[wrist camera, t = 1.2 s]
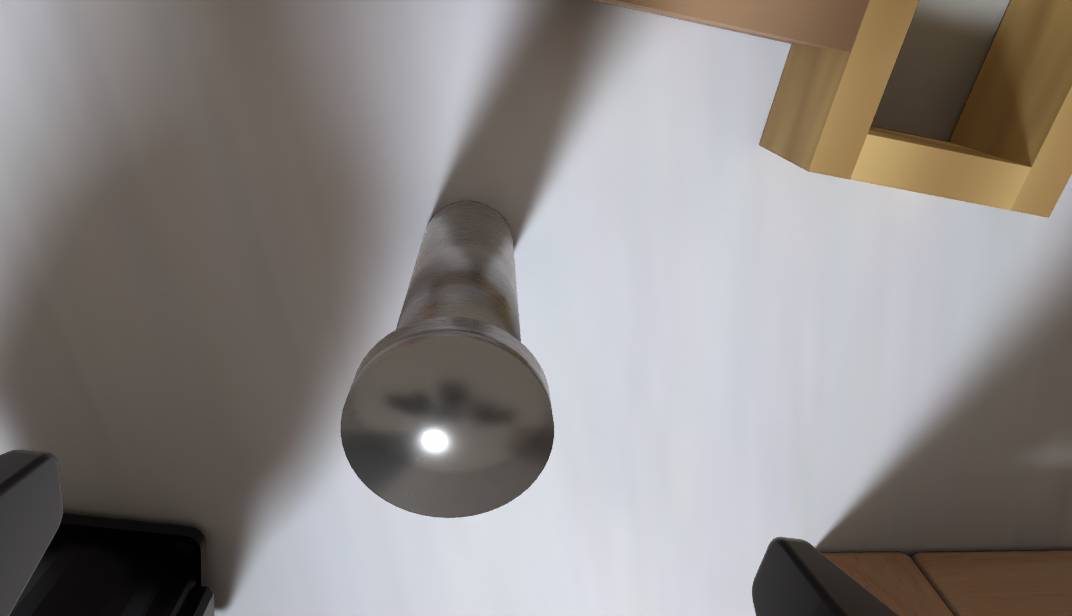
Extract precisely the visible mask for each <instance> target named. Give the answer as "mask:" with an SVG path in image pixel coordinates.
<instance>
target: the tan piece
mask: <svg viewBox="0 0 1072 616" xmlns="http://www.w3.org/2000/svg"><path fill="white" fill-rule="evenodd" d="M594 1H599V2H603V3H608V4H612V5H617V6H621V7H626V8H631V9H635V10H640V11H644V12H649V13H654V14H658V15H663V16H667V17H672V18H676V19H681V20H686V21H690V22H695V23H699V24H704V25H708V26H713V27H718V28H722V29H727V30H731V31H736V32H741V33H745V34H750V35H754V36H759V37H763V38H768V39H773V40H777V41H782V42H786V43H791V44H792V46H791V49H790V52H789V55H788V58H787V61H786V64H785V67H784V70H783V73H782V76H781V79H780V82H779V86H778V89H777V92H776V95H775V98H774V101H773V104H772V107H771V110H770V113H769V116H768V119H767V122H766V125H765V129H764V132H763V135H762V138H761V141H760V144H759V145H760V146H762V147H764V148H766V149H767V150H769V151H771V152H773V153H775V154H777V155H779V156H781V157H782V158H784V159H786V160H788V161H790V162H792V163H794V164H795V165H797V166H799V167H801V168H803V169H805V170H807V171H809V172H814V173H819V174H825V175H830V176H835V177H840V178H845V179H851V180H856V181H861V182H866V183H871V184H877V185H882V186H887V187H892V188H897V189H903V190H908V191H913V192H918V193H923V194H929V195H934V196H939V197H944V198H949V199H955V200H960V201H965V202H970V203H975V204H981V205H986V206H991V207H996V208H1001V209H1007V210H1012V211H1017V212H1022V213H1027V214H1033V215H1038V216H1043V217H1048V218H1049V216H1050V215H1051V213H1052V211H1053V209H1054V207H1055V205H1056V203H1057V201H1058V199H1059V197H1060V195H1061V193H1062V191H1063V190H1064V188H1065V186H1066V184H1067V182H1068V180H1069V178H1070V176H1071V174H1072V0H1011V1H1010V3H1009V6H1008V8H1007V10H1006V13H1005V15H1004V17H1003V19H1002V22H1001V24H1000V26H999V29H998V31H997V33H996V35H995V38H994V40H993V42H992V45H991V47H990V49H989V51H988V54H987V56H986V58H985V61H984V63H983V65H982V67H981V70H980V72H979V74H978V77H977V79H976V81H975V83H974V86H973V88H972V90H971V93H970V95H969V97H968V99H967V102H966V104H965V106H964V109H963V111H962V113H961V116H960V118H959V120H958V122H957V125H956V127H955V129H954V132H953V134H952V136H951V138H950V141H949V142H946V141H941V140H936V139H931V138H926V137H921V136H917V135H912V134H907V133H902V132H897V131H892V130H887V129H882V128H877V127H872V126H871V124H872V121H873V119H874V116H875V114H876V111H877V108H878V106H879V103H880V101H881V98H882V96H883V93H884V90H885V88H886V85H887V83H888V80H889V77H890V75H891V72H892V70H893V67H894V64H895V62H896V59H897V57H898V54H899V52H900V49H901V46H902V44H903V41H904V39H905V36H906V33H907V31H908V28H909V26H910V23H911V21H912V18H913V15H914V13H915V10H916V8H917V5H918V2H919V0H594Z"/></svg>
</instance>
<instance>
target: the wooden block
mask: <svg viewBox="0 0 1072 616" xmlns="http://www.w3.org/2000/svg"><path fill="white" fill-rule="evenodd" d="M822 554H823V555H825V556H826V557H827V558H828V559H830V560H831V561H832V562H833V563H835V564H836V565H837V566H838V567H840V568H841V569H842V570H843V571H845V572H846V573H847V574H848V575H850V576H851V577H852V578H853V579H855V580H856V581H857V582H858V583H860V584H861V585H862V586H863V587H865V588H866V589H867V590H868V591H870V592H871V593H872V594H873V595H875V596H876V597H877V598H878V599H880V600H881V601H882V602H883V603H885V604H886V605H887V606H888V607H889V608H891V609H892V610H893V611H894V612H896V613H897V614H898V615H899V616H1072V551H1005V552H933V553H916V554H914V555H913V556H912V557H911V558H910V557H909V556H908V555H906V554H904V553H901V552H863V553H822Z"/></svg>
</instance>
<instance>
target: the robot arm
mask: <svg viewBox="0 0 1072 616" xmlns="http://www.w3.org/2000/svg"><path fill="white" fill-rule="evenodd" d="M184 542H187V543H189V544H190V545H188V544H185V543H184ZM752 598H753V604H754V608H755V613H756V616H899V615H898V614H897V613H896V612H894V611H893V610H892V609H891V608H889V607H888V606H887V605H886V604H885V603H883V602H882V601H881V600H880V599H878V598H877V597H876V596H875V595H873V594H872V593H871V592H870V591H868V590H867V589H866V588H865V587H863V586H862V585H861V584H860V583H858V582H857V581H856V580H855V579H853V578H852V577H851V576H850V575H848V574H847V573H846V572H845V571H843V570H842V569H841V568H840V567H838V566H837V565H836V564H835V563H833V562H832V561H831V560H830V559H828V558H827V557H826V556H825V555H823V554H822V553H821V552H820V551H818V550H817V549H816V548H815V547H813V546H812V545H811V544H810V543H808V542H807V541H805V540H802V539H794V538H786V537H777V538H775V539H773V540H772V541H771V542H770V544H769V546H768V548H767V551H766V553H765V555H764V558H763V560H762V562H761V565H760V567H759V569H758V572H757V574H756V576H755V578H754V582H753V586H752ZM0 616H214V593H213V591H212V590H211V588H210V586H206V539H205V536H204V534H203V533H202V532H201V531H199V530H198V529H196V528H192V527H187V526H177V525H168V524H158V523H149V522H139V521H130V520H120V519H111V518H101V517H91V516H82V515H72V514H63V500H62V491H61V481H60V472H59V464H58V460H57V459H56V457H55V456H54V455H52V454H50V453H46V452H37V451H28V450H12V451H10V452H7V453H4V454H2V455H0Z"/></svg>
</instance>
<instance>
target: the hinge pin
mask: <svg viewBox="0 0 1072 616" xmlns="http://www.w3.org/2000/svg"><path fill="white" fill-rule="evenodd" d="M341 438H342V445H343V448H344V451H345V454H346V457H347V459H348V461H349V463H350V465H351V467H352V468H353V470H354V471H355V473H356V474H357V476H358V477H359V478H360V479H361V481H362V482H363V483H364V484H365V485H366V486H367V487H368V488H369V489H370V490H372V491H373V492H374V493H375V494H376V495H378V496H379V497H381V498H382V499H384V500H385V501H387V502H389V503H391V504H393V505H395V506H397V507H399V508H402V509H404V510H407V511H409V512H413V513H417V514H420V515H425V516H432V517H443V518H455V517H466V516H473V515H477V514H481V513H485V512H488V511H491V510H493V509H496V508H499V507H501V506H503V505H505V504H507V503H509V502H510V501H512V500H513V499H515V498H516V497H518V496H519V495H521V494H522V493H523V492H524V491H525V490H526V489H528V488H529V487H530V486H531V484H532V483H533V482H534V481H535V480H536V479H537V478H538V476H539V475H540V473H541V472H542V470H543V469H544V467H545V465H546V463H547V461H548V459H549V456H550V453H551V450H552V445H553V439H554V422H553V415H552V408H551V401H550V394H549V388H548V384H547V380H546V377H545V375H544V372H543V370H542V368H541V366H540V364H539V363H538V361H537V360H536V359H535V357H534V356H533V354H532V353H531V352H530V351H529V350H528V349H527V348H526V347H525V346H524V345H523V344H522V343H521V338H520V325H519V312H518V300H517V287H516V275H515V262H514V250H513V239H512V234H511V231H510V228H509V226H508V224H507V223H506V221H505V220H504V218H503V217H502V216H501V215H500V214H499V213H498V212H497V211H495V210H494V209H493V208H491V207H489V206H487V205H484V204H482V203H478V202H472V201H463V202H457V203H453V204H450V205H448V206H446V207H444V208H443V209H441V210H440V211H439V212H437V213H436V214H435V215H434V216H433V218H432V219H431V220H430V222H429V224H428V226H427V228H426V231H425V234H424V237H423V241H422V244H421V247H420V251H419V254H418V257H417V261H416V264H415V267H414V271H413V274H412V277H411V281H410V284H409V288H408V291H407V294H406V298H405V301H404V304H403V308H402V311H401V314H400V318H399V321H398V324H397V328H396V330H395V331H393V332H392V333H390V334H388V335H387V336H386V337H384V338H383V339H382V340H380V341H379V342H378V343H377V344H376V345H375V346H374V347H373V348H372V349H371V350H370V351H369V352H368V354H367V355H366V357H365V358H364V359H363V361H362V362H361V364H360V366H359V368H358V370H357V372H356V375H355V378H354V380H353V383H352V386H351V389H350V391H349V394H348V397H347V399H346V402H345V405H344V408H343V412H342V418H341Z"/></svg>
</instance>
